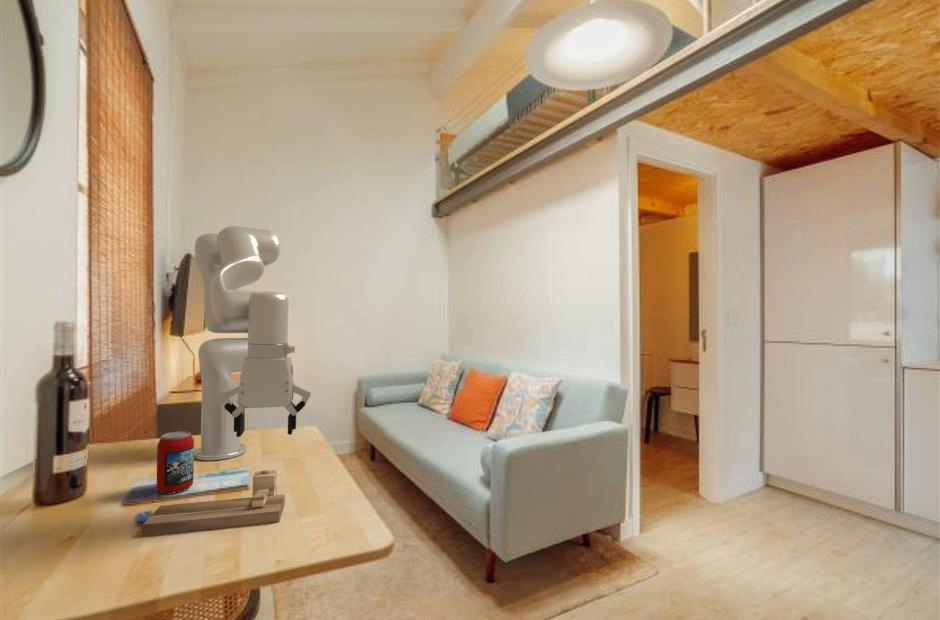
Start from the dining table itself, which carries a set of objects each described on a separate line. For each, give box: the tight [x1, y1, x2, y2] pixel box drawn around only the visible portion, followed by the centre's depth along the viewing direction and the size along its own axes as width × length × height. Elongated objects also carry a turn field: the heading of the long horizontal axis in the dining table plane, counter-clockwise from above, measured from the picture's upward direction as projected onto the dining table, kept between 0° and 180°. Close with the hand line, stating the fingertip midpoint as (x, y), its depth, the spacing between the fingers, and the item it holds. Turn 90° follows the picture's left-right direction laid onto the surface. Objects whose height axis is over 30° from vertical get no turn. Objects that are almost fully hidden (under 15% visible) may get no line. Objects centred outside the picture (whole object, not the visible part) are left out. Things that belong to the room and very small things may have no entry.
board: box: [141, 494, 286, 537], centre depth 84 cm, size 8×22×2 cm, turn 106°
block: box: [251, 468, 278, 508], centre depth 89 cm, size 10×4×6 cm, turn 16°
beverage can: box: [156, 431, 195, 494], centre depth 98 cm, size 7×7×12 cm
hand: (265, 434), depth 93 cm, fingers open, 9 cm apart
